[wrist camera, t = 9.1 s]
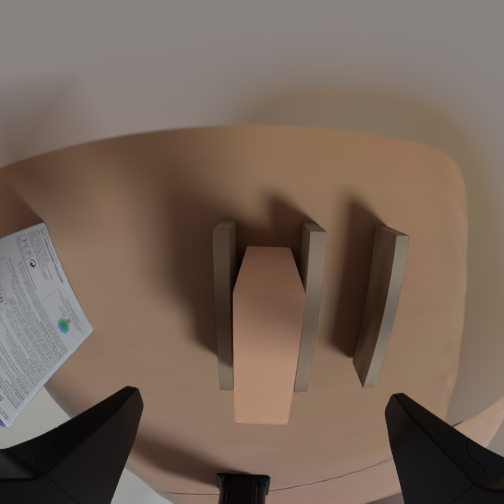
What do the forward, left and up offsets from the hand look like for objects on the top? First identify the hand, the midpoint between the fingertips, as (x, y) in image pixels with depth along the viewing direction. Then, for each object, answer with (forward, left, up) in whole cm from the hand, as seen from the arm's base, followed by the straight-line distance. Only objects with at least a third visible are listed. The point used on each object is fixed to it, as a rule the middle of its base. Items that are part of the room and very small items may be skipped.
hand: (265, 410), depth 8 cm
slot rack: (0, -2, -9) cm, 9 cm away
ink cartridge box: (0, +18, -9) cm, 20 cm away
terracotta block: (0, 0, -9) cm, 9 cm away
